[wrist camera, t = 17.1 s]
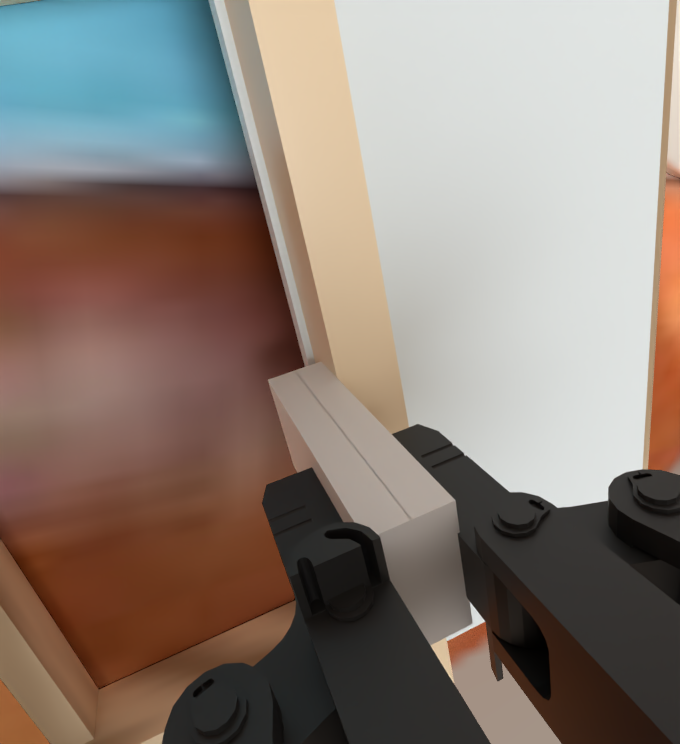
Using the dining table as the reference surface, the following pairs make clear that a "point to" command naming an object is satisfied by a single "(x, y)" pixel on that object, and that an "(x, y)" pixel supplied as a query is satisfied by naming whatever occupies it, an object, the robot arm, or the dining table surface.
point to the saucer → (675, 106)
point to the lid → (467, 216)
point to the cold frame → (171, 676)
